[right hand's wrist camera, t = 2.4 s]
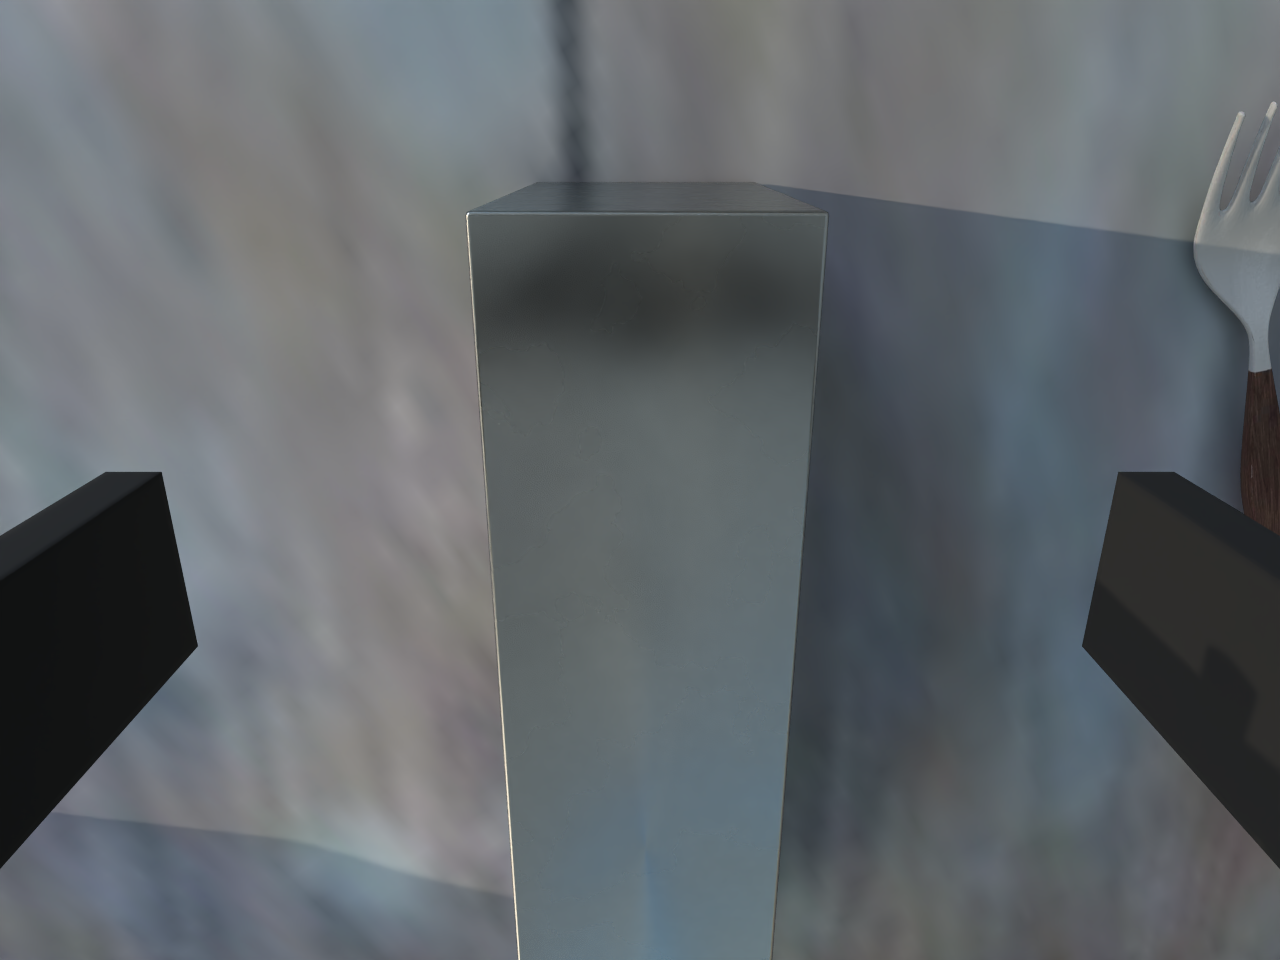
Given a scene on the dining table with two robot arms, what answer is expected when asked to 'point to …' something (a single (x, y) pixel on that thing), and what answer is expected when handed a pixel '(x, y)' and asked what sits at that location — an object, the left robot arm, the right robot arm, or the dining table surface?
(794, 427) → the bar
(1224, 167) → the fork
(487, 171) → the dining table surface
